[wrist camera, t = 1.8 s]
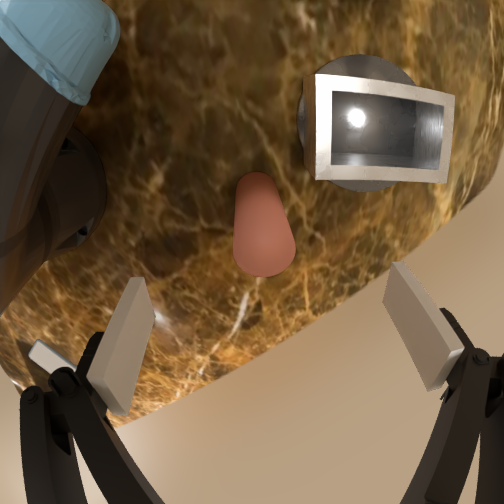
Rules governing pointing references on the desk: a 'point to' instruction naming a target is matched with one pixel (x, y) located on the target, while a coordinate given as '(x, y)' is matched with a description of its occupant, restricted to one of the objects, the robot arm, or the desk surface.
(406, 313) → the robot arm
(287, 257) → the pin
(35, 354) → the smartphone
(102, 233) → the desk surface
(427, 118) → the rosette bracket
